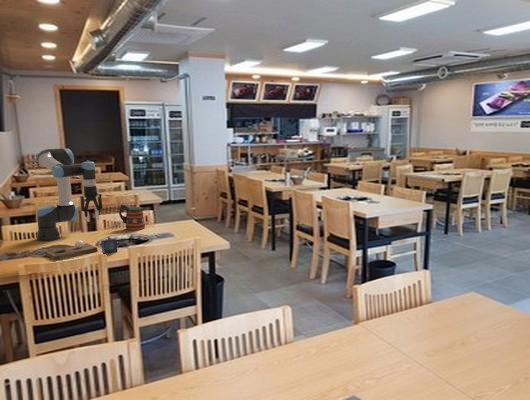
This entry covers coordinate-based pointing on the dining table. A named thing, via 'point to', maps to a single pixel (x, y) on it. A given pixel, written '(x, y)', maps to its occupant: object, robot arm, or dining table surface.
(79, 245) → the ball
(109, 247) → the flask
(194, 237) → the dining table surface
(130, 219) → the beer stein
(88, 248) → the board
